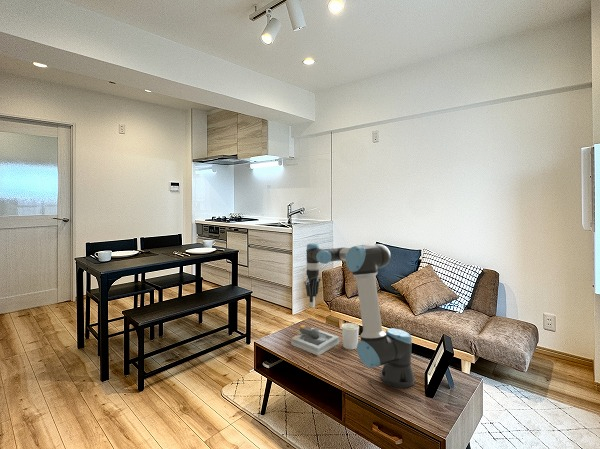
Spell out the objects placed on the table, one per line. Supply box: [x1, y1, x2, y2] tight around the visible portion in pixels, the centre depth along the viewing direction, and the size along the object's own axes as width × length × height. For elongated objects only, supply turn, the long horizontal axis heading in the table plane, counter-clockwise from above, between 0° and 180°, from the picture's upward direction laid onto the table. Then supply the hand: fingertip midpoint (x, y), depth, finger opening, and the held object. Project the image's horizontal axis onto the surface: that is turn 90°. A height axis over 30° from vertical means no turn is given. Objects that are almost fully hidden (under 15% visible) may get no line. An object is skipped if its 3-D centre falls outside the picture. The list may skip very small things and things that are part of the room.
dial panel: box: [290, 327, 340, 356], centre depth 187 cm, size 20×20×4 cm
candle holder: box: [341, 322, 360, 350], centre depth 184 cm, size 10×10×12 cm
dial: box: [299, 324, 326, 345], centre depth 188 cm, size 18×13×6 cm
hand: (312, 306), depth 196 cm, fingers closed
